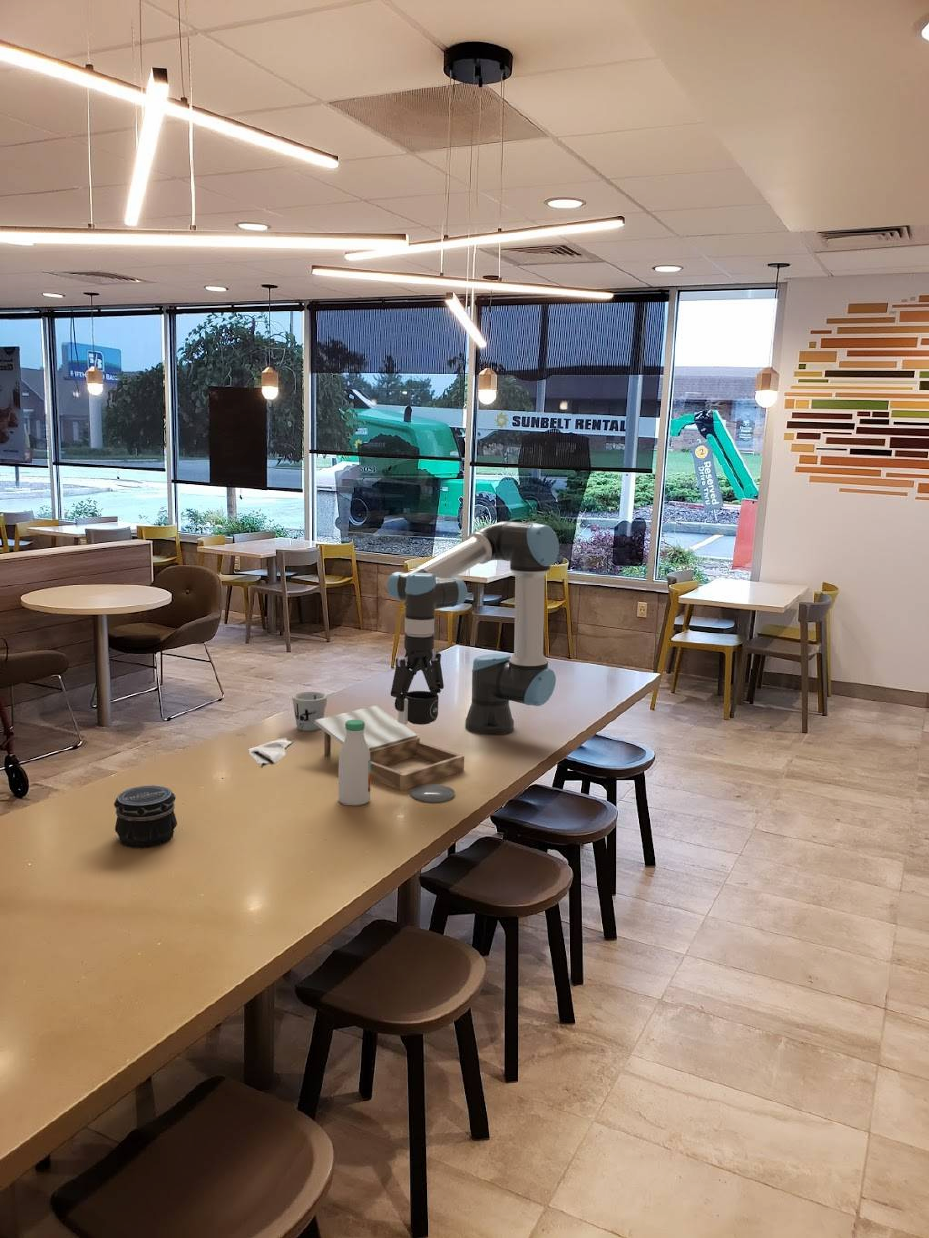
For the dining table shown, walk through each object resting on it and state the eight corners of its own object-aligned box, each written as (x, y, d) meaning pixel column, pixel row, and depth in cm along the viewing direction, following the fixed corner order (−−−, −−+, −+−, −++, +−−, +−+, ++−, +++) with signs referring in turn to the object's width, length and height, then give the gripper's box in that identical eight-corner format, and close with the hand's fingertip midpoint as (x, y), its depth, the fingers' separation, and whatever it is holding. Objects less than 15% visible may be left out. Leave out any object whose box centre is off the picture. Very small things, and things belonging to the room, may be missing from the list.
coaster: (432, 783, 240) (432, 781, 240) (463, 794, 233) (463, 792, 233) (401, 793, 232) (401, 791, 232) (432, 806, 225) (432, 803, 225)
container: (142, 855, 194) (140, 810, 192) (102, 840, 201) (100, 796, 199) (189, 835, 205) (188, 792, 203) (150, 821, 211) (149, 779, 209)
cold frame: (374, 739, 275) (375, 705, 273) (463, 770, 251) (464, 733, 249) (314, 756, 259) (314, 719, 257) (403, 790, 235) (403, 750, 233)
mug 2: (443, 720, 242) (444, 693, 240) (428, 728, 233) (429, 701, 232) (402, 713, 246) (403, 687, 245) (386, 721, 238) (386, 694, 237)
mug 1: (285, 729, 282) (285, 697, 280) (311, 717, 296) (311, 686, 294) (315, 734, 278) (315, 702, 276) (340, 721, 292) (340, 690, 290)
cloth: (270, 738, 276) (270, 730, 275) (313, 743, 272) (313, 735, 272) (224, 765, 251) (224, 757, 251) (271, 771, 247) (271, 763, 247)
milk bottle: (364, 807, 223) (365, 727, 219) (334, 804, 224) (334, 724, 221) (374, 796, 230) (375, 718, 227) (344, 793, 232) (344, 716, 228)
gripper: (440, 627, 246) (437, 709, 250) (376, 636, 231) (375, 723, 235) (460, 631, 241) (457, 715, 245) (396, 641, 226) (394, 730, 230)
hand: (416, 719), depth 240 cm, fingers closed on mug 2, 9 cm apart
